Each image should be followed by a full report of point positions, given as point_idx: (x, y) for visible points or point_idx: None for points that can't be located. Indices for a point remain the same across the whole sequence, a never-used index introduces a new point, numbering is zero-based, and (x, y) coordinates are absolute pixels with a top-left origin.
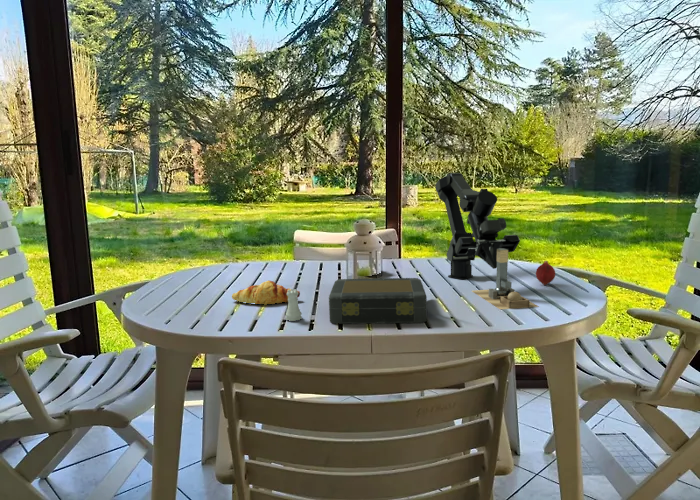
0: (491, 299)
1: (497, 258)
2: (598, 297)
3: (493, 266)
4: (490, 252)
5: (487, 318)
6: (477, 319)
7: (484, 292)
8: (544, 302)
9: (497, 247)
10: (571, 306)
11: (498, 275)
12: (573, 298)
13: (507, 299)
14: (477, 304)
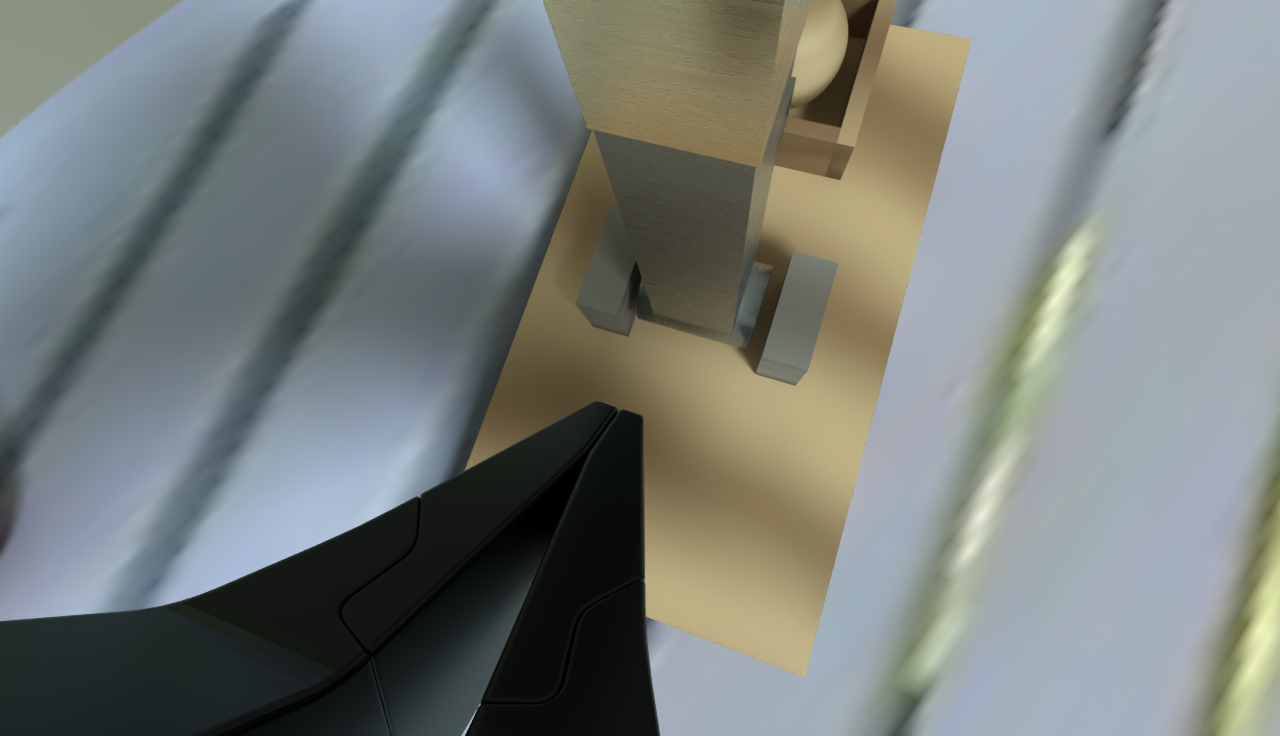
0: (838, 293)
1: (778, 80)
2: (66, 101)
3: (643, 433)
4: (507, 652)
5: (1097, 44)
6: (1189, 55)
7: (727, 529)
8: (433, 167)
9: (105, 642)
10: (375, 26)
11: (760, 214)
12: (198, 153)
13: (867, 40)
14: (935, 373)
